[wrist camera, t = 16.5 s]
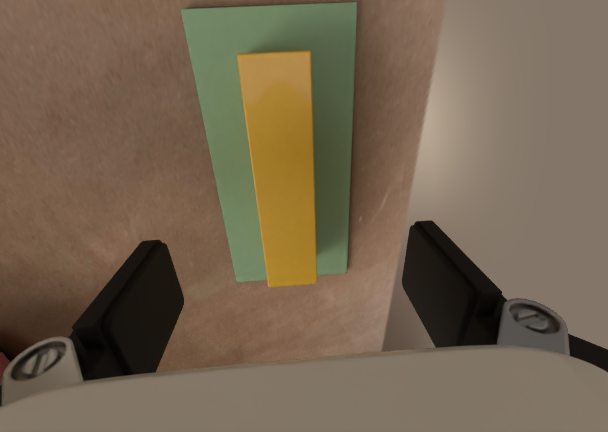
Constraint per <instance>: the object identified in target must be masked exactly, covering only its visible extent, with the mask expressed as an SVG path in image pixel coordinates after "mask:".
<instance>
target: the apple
mask: <svg viewBox="0 0 608 432" xmlns="http://www.w3.org/2000/svg"><path fill="white" fill-rule="evenodd" d="M9 363H10V361H9V360H8V359H7V358H6V356H5V355H4V353H2V352H0V385H2V376H3V372H4V370H5V369H6V367H7V366H8V365H9Z"/></svg>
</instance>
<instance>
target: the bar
mask: <svg viewBox="0 0 608 432" xmlns="http://www.w3.org/2000/svg"><path fill="white" fill-rule="evenodd" d="M237 61H238V69H239V76H240V83H241V91H242V98H243V105H244V113H245V120H246V127H247V135H248V142H249V149H250V157H251V164H252V172H253V179H254V186H255V194H256V201H257V208H258V216H259V223H260V230H261V238H262V245H263V252H264V260H265V267H266V274H267V282H268V287H280V286H292V285H304V284H316V283H317V255H316V217H315V178H314V139H313V100H312V61H311V51H310V50H302V51H280V52H259V53H238V54H237Z"/></svg>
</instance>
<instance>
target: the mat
mask: <svg viewBox="0 0 608 432" xmlns="http://www.w3.org/2000/svg"><path fill="white" fill-rule="evenodd" d="M181 14H182V19H183V24H184V29H185V33H186V38H187V43H188V48H189V53H190V58H191V63H192V67H193V72H194V77H195V82H196V87H197V92H198V97H199V101H200V106H201V111H202V116H203V121H204V126H205V131H206V135H207V140H208V145H209V150H210V155H211V160H212V165H213V169H214V174H215V179H216V184H217V189H218V194H219V199H220V203H221V208H222V213H223V218H224V223H225V228H226V233H227V237H228V242H229V247H230V252H231V257H232V262H233V267H234V271H235V276H236V281H237V282H246V281H258V280H267V274H266V267H265V260H264V252H263V245H262V238H261V230H260V223H259V216H258V208H257V201H256V194H255V186H254V179H253V172H252V164H251V157H250V149H249V142H248V135H247V127H246V120H245V113H244V105H243V98H242V91H241V83H240V76H239V69H238V61H237V54H238V53H259V52H280V51H302V50H310V51H311V61H312V100H313V139H314V178H315V217H316V255H317V276H318V275H330V274H342V273H347V254H348V228H349V202H350V176H351V150H352V124H353V98H354V72H355V46H356V20H357V2H344V3H319V4H294V5H269V6H244V7H218V8H193V9H181Z"/></svg>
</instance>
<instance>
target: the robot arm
mask: <svg viewBox="0 0 608 432" xmlns="http://www.w3.org/2000/svg"><path fill="white" fill-rule="evenodd" d="M402 285H403V288H404V290H405V292H406V294H407V295H408V297H409V299H410V301H411V303H412V304H413V307H414V308H415V310H416V312H417V314H418V316H419V318H420V319H421V321H422V323H423V325H424V327H425V328H426V330H427V332H428V334H429V336H430V337H431V339H432V341H433V343H434V345H435V346H436V348H425V349H412V350H399V351H388V352H375V353H363V354H351V355H339V356H328V357H316V358H305V359H293V360H282V361H271V362H260V363H249V364H238V365H227V366H217V367H206V368H195V369H185V370H174V371H164V372H156V370H157V367H158V365H159V363H160V360H161V358H162V356H163V353H164V351H165V348H166V346H167V344H168V341H169V339H170V336H171V334H172V332H173V329H174V327H175V325H176V322H177V320H178V317H179V315H180V313H181V310H182V308H183V305H184V297H183V293H182V290H181V287H180V284H179V281H178V278H177V275H176V272H175V269H174V265H173V262H172V259H171V256H170V253H169V250H168V247H167V245H166V244H165V243H162V242H161V241H160V240H150V241H142V242H141V243H140V244H139V245H138V247H137V248H136V249H135V250H134V252H133V253H132V254H131V255H130V257H129V258H128V259H127V260H126V261H125V263H124V264H123V265H122V266H121V268H120V269H119V270H118V271H117V272H116V274H115V275H114V276H113V277H112V279H111V280H110V281H109V282H108V283H107V285H106V286H105V287H104V288H103V290H102V291H101V292H100V293H99V295H98V296H97V297H96V298H95V299H94V301H93V302H92V303H91V304H90V306H89V307H88V308H87V309H86V310H85V312H84V313H83V314H82V315H81V317H80V318H79V319H78V320H77V321H76V323H75V324H74V325H73V326H72V329H73V330H74V331H73V332H72V334H71V335H70V336H69V337H65V336H57V337H52V338H48V339H45V340H43V341H40V342H38V343H36V344H34V345H32V346H31V347H29V348H27V349H26V350H24V351H23V352H22V353H20V354H19V355H18V356H16V357H15V358H14V359H13V360H12V361H11V362H10V363H9V365H8V366H7V367H6V369H5V370H4V372H3V376H2V385H0V432H608V350H607V349H605V348H602V347H600V346H597V345H595V344H592V343H590V342H587V341H585V340H582V339H580V338H577V337H575V336H572V335H570V334H568V329H567V326H566V323H565V322H564V320H563V319H562V318H561V317H560V316H559V315H558V314H557V313H555V312H554V311H553V310H551V309H550V308H548V307H546V306H544V305H542V304H540V303H537V302H535V301H531V300H527V299H519V298H516V299H510V300H508V301H507V300H506V299H505V298H504V297H503V296H502V291H501V290H500V289H499V288H498V287H497V286H496V285H495V284H494V283H493V282H492V281H491V280H490V279H489V278H488V277H487V276H486V275H485V274H484V273H483V272H482V271H481V270H480V269H479V268H478V267H477V266H476V265H475V264H474V263H473V262H472V261H471V260H470V259H469V258H468V257H467V256H466V255H465V254H464V253H463V252H462V251H461V250H460V248H458V247H457V245H455V243H454V242H453V241H452V240H451V239H450V238H449V237H448V236H447V235H446V234H445V233H444V232H443V231H442V230H441V229H440V228H439V227H438V226H437V225H436V224H435V223H434V222H433V221H417V222H415V224H414V225H413V226H411V227H410V230H409V237H408V244H407V250H406V257H405V263H404V270H403V277H402Z"/></svg>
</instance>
